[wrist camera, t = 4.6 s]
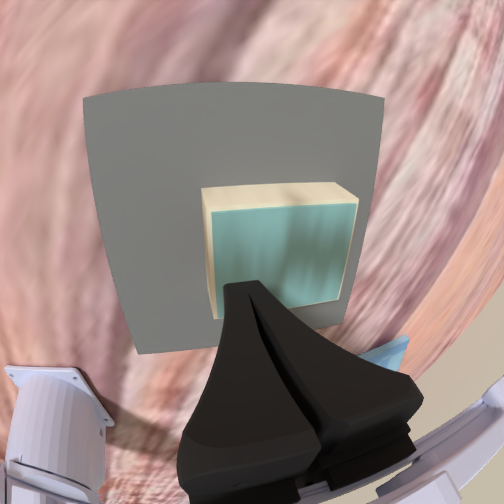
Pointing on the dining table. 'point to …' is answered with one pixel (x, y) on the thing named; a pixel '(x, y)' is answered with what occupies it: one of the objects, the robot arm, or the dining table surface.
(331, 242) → the beige and teal block
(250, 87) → the mat
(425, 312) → the dining table surface
